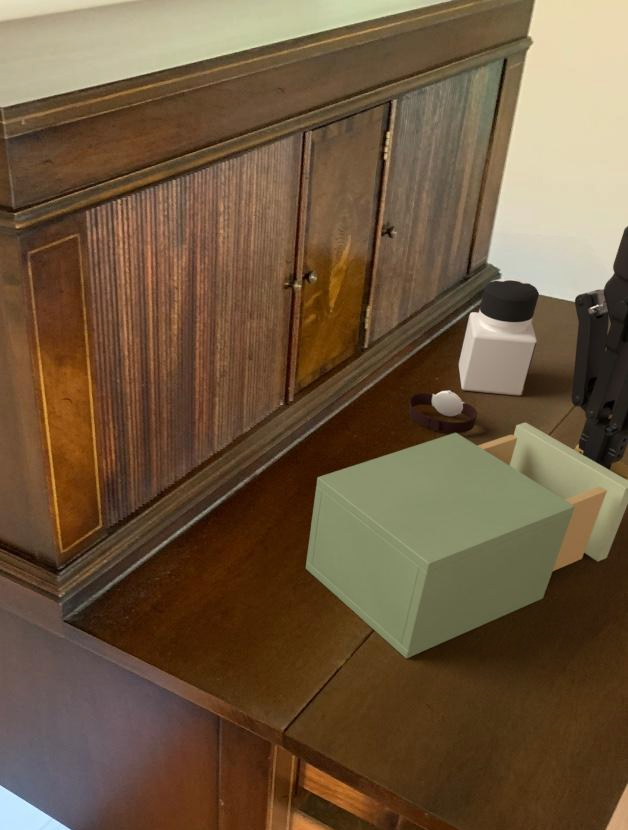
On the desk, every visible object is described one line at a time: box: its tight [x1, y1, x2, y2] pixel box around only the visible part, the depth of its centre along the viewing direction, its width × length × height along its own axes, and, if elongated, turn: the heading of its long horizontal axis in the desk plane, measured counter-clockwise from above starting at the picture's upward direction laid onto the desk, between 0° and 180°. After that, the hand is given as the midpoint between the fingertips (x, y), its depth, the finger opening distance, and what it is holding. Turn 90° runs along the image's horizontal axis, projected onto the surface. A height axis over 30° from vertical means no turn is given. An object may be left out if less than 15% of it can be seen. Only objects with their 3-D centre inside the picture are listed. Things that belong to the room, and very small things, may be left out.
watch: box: [408, 389, 478, 434], centre depth 103 cm, size 8×5×4 cm, turn 58°
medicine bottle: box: [458, 277, 540, 397], centre depth 109 cm, size 7×7×12 cm
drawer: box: [477, 422, 628, 572], centre depth 83 cm, size 21×12×8 cm, turn 120°
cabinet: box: [305, 433, 575, 659], centre depth 79 cm, size 16×14×10 cm
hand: (588, 485), depth 87 cm, fingers closed
